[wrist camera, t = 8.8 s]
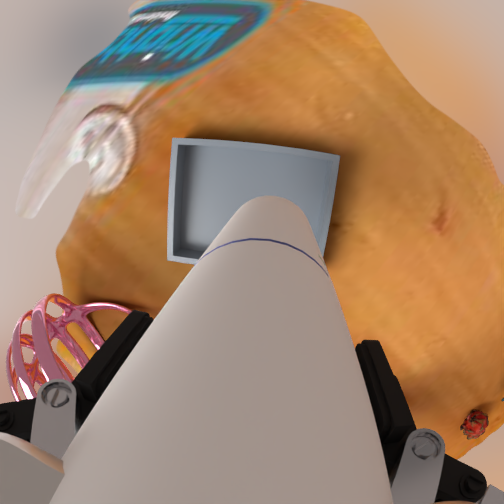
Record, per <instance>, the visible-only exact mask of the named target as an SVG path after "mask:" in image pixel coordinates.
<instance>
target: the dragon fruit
mask: <svg viewBox="0 0 504 504" xmlns="http://www.w3.org/2000/svg"><path fill="white" fill-rule="evenodd" d="M488 424H489V421H488V415H487V414H486V413H485V414H484V413H483V412H482V411H481V412H479V411H476V410H473V411H472V413H471V414H470V415H468V416H467V418H466V420H465V421H464V424H462V425H461V427H460V430H462V429H464V430H463V433H464V435H467V439H472V438H474V439H476V438H478V437H479V436H480V435H482V434H483V433H484V432H485V428H486V427H487V426H488Z"/></svg>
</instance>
